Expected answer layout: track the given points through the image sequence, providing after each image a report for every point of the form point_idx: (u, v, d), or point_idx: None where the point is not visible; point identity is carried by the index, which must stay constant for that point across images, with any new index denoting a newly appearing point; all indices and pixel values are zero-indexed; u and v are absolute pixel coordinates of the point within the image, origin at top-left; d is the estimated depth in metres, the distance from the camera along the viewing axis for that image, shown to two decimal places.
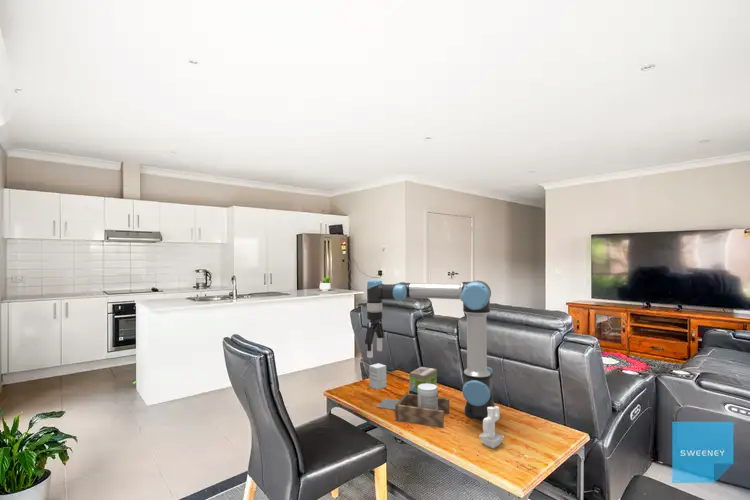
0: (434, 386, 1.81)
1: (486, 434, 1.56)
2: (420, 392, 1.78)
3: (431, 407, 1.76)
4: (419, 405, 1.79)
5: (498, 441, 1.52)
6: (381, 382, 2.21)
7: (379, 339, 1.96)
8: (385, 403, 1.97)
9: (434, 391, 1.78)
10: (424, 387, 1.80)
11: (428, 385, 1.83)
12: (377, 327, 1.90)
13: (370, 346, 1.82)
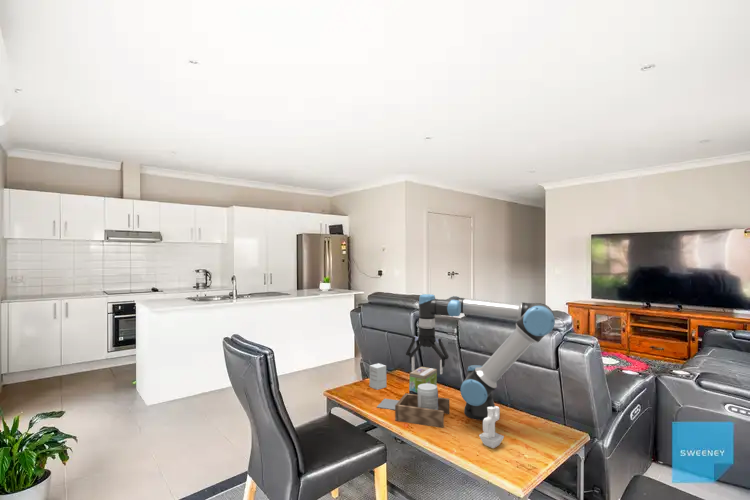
0: (434, 386, 1.81)
1: (486, 434, 1.56)
2: (420, 392, 1.78)
3: (431, 407, 1.76)
4: (419, 405, 1.79)
5: (498, 441, 1.52)
6: (381, 382, 2.21)
7: None
8: (385, 403, 1.97)
9: (434, 391, 1.78)
10: (424, 387, 1.80)
11: (428, 385, 1.83)
12: (428, 344, 1.80)
13: (410, 359, 1.84)
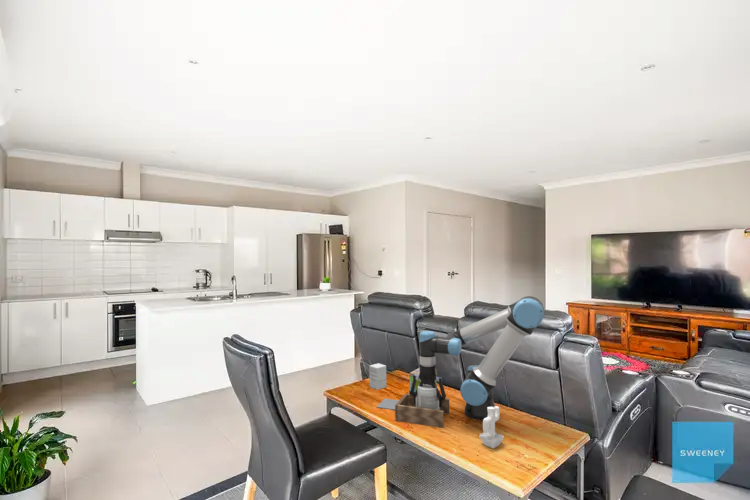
0: None
1: (486, 434, 1.56)
2: (420, 392, 1.78)
3: (431, 407, 1.76)
4: (419, 404, 1.79)
5: (498, 441, 1.52)
6: (381, 382, 2.21)
7: None
8: (385, 403, 1.97)
9: (434, 391, 1.78)
10: (424, 387, 1.80)
11: (428, 385, 1.83)
12: (428, 382, 1.80)
13: (414, 399, 1.83)
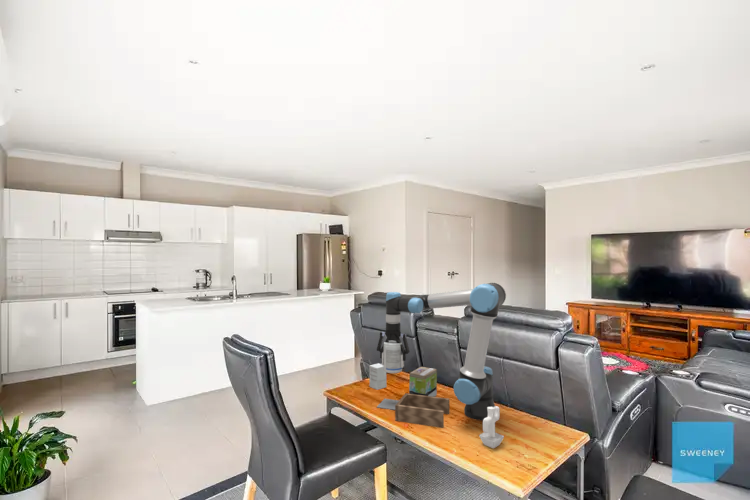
0: None
1: (486, 434, 1.56)
2: (385, 347, 1.94)
3: (395, 361, 1.92)
4: (384, 358, 1.94)
5: (498, 441, 1.52)
6: (381, 382, 2.21)
7: None
8: (385, 403, 1.97)
9: (398, 346, 1.93)
10: (389, 343, 1.95)
11: (393, 341, 1.98)
12: (394, 338, 1.95)
13: (381, 354, 1.98)
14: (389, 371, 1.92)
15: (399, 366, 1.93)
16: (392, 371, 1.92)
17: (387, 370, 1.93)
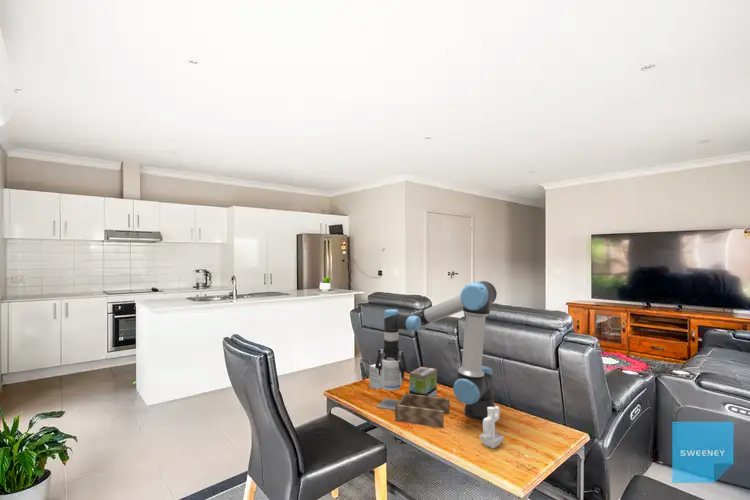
0: None
1: (486, 434, 1.56)
2: (384, 364, 1.94)
3: (393, 378, 1.92)
4: (383, 376, 1.95)
5: (498, 441, 1.52)
6: None
7: None
8: (385, 403, 1.97)
9: (396, 363, 1.94)
10: (388, 360, 1.96)
11: (392, 358, 1.99)
12: (392, 356, 1.96)
13: (379, 371, 1.99)
14: (387, 389, 1.93)
15: (398, 383, 1.94)
16: (390, 389, 1.92)
17: (385, 388, 1.93)
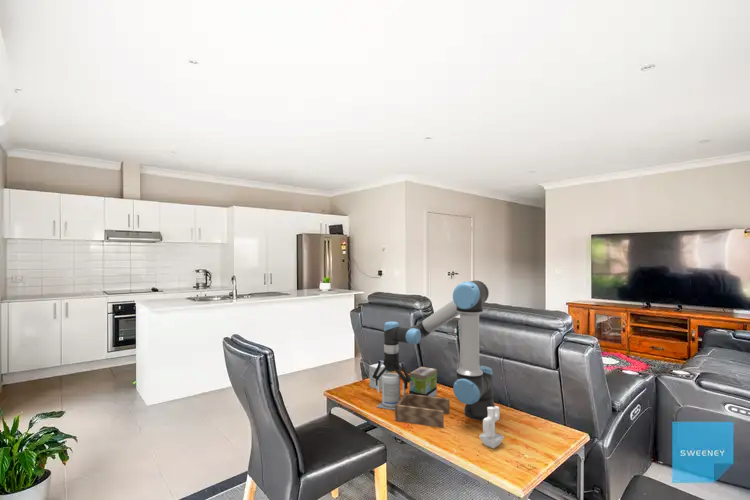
0: (397, 375, 1.97)
1: (486, 434, 1.56)
2: (383, 380, 1.94)
3: (393, 394, 1.92)
4: (383, 392, 1.95)
5: (498, 441, 1.52)
6: (381, 382, 2.21)
7: None
8: None
9: (396, 379, 1.94)
10: (387, 376, 1.96)
11: (392, 374, 1.99)
12: (392, 368, 1.96)
13: (377, 381, 1.99)
14: (387, 405, 1.93)
15: (398, 399, 1.93)
16: (390, 405, 1.92)
17: (385, 404, 1.93)
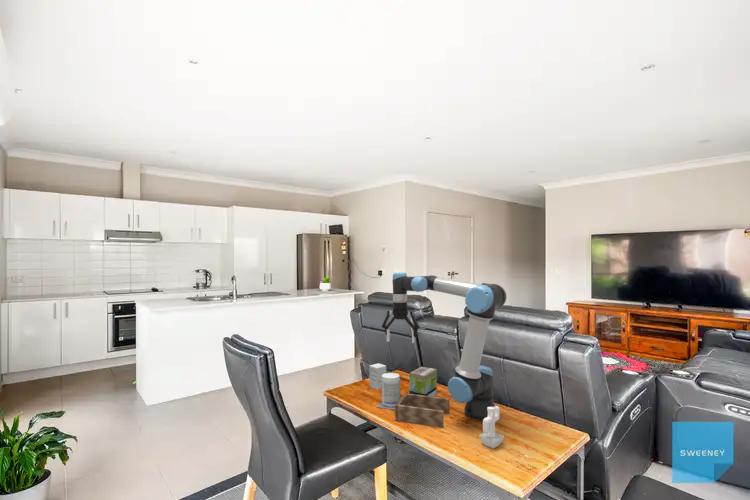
0: (397, 375, 1.97)
1: (486, 434, 1.56)
2: (383, 380, 1.94)
3: (393, 394, 1.92)
4: (382, 392, 1.95)
5: (498, 441, 1.52)
6: (381, 382, 2.21)
7: None
8: None
9: (396, 379, 1.94)
10: (387, 376, 1.96)
11: (391, 374, 1.99)
12: (401, 317, 2.01)
13: (386, 331, 2.04)
14: (387, 405, 1.93)
15: (397, 399, 1.93)
16: (390, 405, 1.92)
17: (385, 404, 1.93)
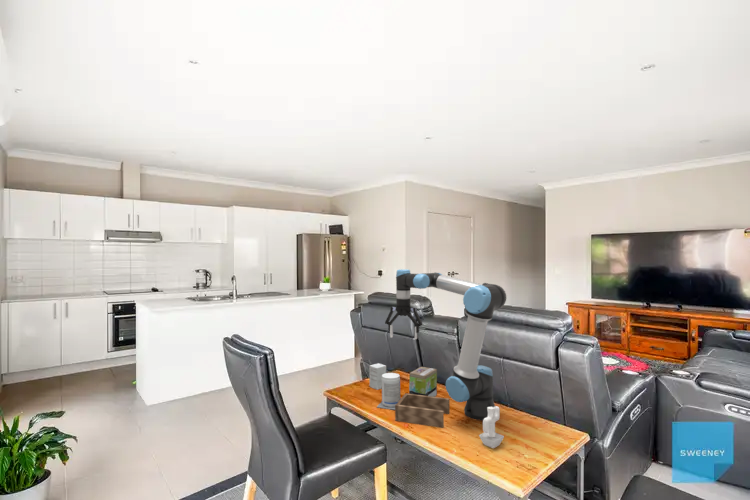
0: (397, 375, 1.97)
1: (486, 434, 1.56)
2: (383, 380, 1.94)
3: (393, 394, 1.92)
4: (383, 392, 1.95)
5: (498, 441, 1.52)
6: (381, 382, 2.21)
7: None
8: None
9: (396, 379, 1.94)
10: (387, 376, 1.96)
11: (391, 374, 1.99)
12: (404, 313, 2.03)
13: (389, 327, 2.07)
14: (387, 405, 1.93)
15: (397, 399, 1.93)
16: (390, 405, 1.92)
17: (385, 404, 1.93)
